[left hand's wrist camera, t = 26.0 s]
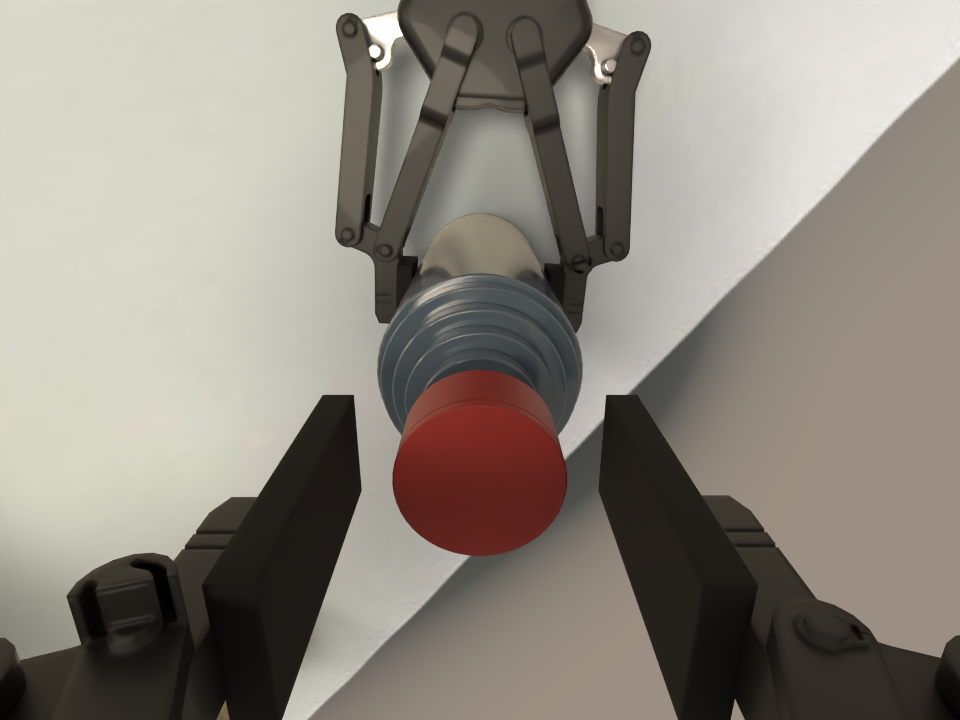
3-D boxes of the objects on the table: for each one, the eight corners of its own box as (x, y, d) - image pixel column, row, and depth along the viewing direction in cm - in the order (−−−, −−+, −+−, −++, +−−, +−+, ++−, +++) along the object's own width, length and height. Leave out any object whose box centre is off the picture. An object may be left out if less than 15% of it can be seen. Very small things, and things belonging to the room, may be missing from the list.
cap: (397, 496, 15) (385, 546, 13) (411, 360, 14) (400, 394, 12) (541, 512, 15) (550, 565, 13) (568, 379, 14) (583, 417, 12)
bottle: (402, 267, 35) (275, 461, 13) (481, 189, 34) (485, 263, 12) (478, 343, 37) (475, 625, 15) (557, 271, 35) (683, 470, 13)
